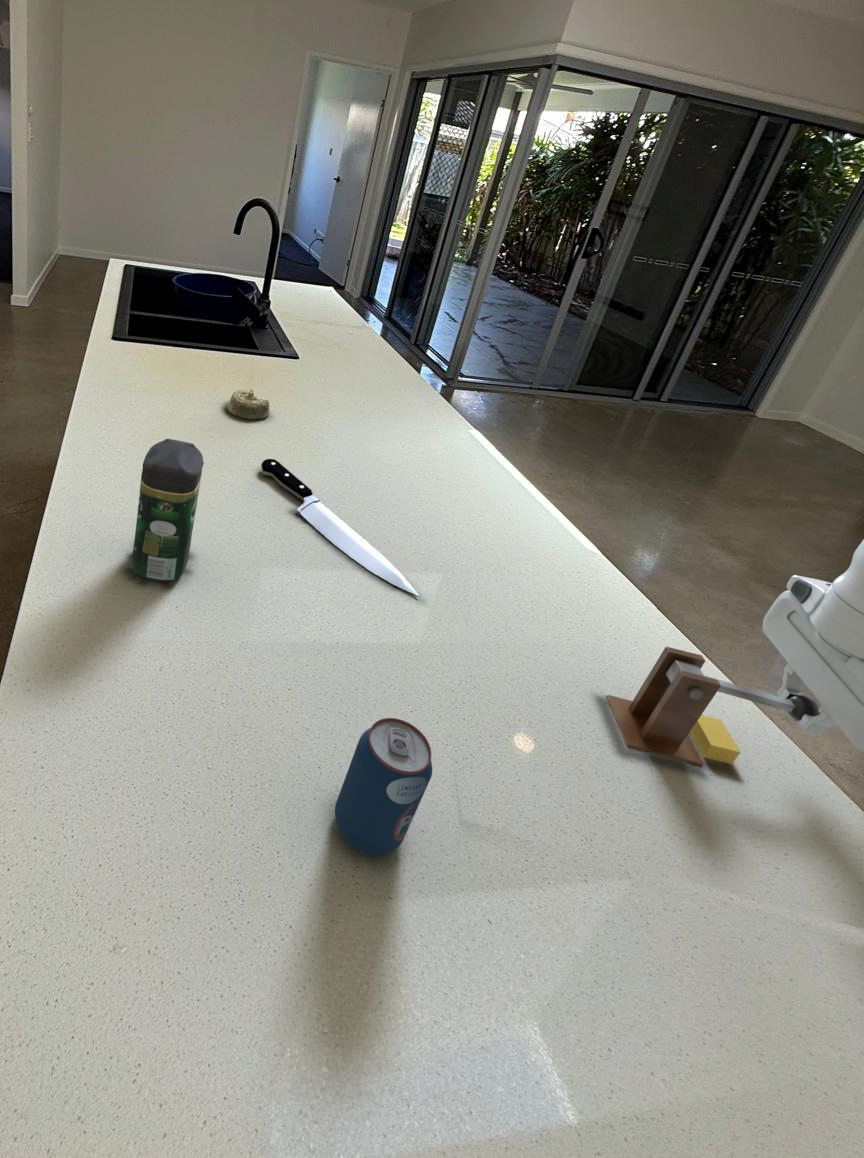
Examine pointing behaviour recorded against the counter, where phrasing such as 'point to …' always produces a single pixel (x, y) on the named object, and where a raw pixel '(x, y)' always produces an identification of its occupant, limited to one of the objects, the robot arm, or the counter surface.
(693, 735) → the butter
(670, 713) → the stand
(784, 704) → the grey metal rod
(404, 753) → the soda can
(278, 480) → the chef knife
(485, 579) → the counter surface
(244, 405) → the cake
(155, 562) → the coffee jar
